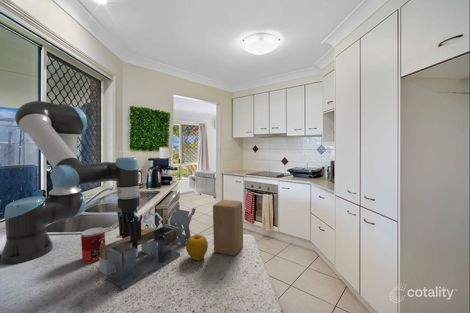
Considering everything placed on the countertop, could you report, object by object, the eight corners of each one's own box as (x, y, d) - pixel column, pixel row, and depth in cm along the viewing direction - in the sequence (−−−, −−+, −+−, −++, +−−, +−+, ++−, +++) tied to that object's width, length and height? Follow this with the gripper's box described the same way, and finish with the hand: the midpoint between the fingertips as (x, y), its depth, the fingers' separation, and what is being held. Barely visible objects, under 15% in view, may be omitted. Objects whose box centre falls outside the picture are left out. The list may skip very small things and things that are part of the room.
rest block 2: (141, 250, 85) (141, 239, 85) (149, 247, 88) (149, 235, 88) (148, 254, 82) (148, 242, 82) (157, 249, 86) (156, 238, 85)
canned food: (94, 264, 75) (92, 235, 75) (76, 262, 77) (75, 234, 77) (110, 253, 83) (109, 227, 83) (94, 252, 85) (93, 226, 84)
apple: (184, 255, 81) (183, 233, 80) (205, 250, 84) (204, 229, 84) (188, 266, 73) (187, 242, 73) (210, 260, 76) (210, 238, 76)
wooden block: (213, 252, 82) (211, 204, 81) (223, 242, 91) (222, 199, 91) (235, 257, 78) (234, 207, 78) (244, 245, 88) (243, 200, 87)
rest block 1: (99, 270, 71) (99, 256, 71) (111, 265, 75) (111, 251, 75) (106, 275, 69) (106, 260, 68) (118, 269, 72) (118, 255, 72)
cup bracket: (105, 279, 66) (104, 247, 66) (163, 249, 85) (162, 224, 85) (122, 290, 61) (120, 256, 60) (179, 256, 80) (179, 229, 80)
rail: (100, 257, 71) (99, 247, 71) (150, 236, 88) (150, 228, 88) (105, 260, 69) (104, 250, 69) (155, 238, 86) (155, 229, 86)
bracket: (196, 239, 95) (195, 208, 94) (180, 248, 86) (179, 214, 86) (177, 233, 102) (177, 204, 101) (161, 241, 93) (160, 210, 93)
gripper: (107, 196, 79) (109, 254, 80) (131, 201, 70) (133, 267, 71) (126, 192, 85) (128, 246, 86) (150, 197, 76) (152, 257, 77)
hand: (130, 255), depth 78 cm, fingers closed on rail, 4 cm apart
